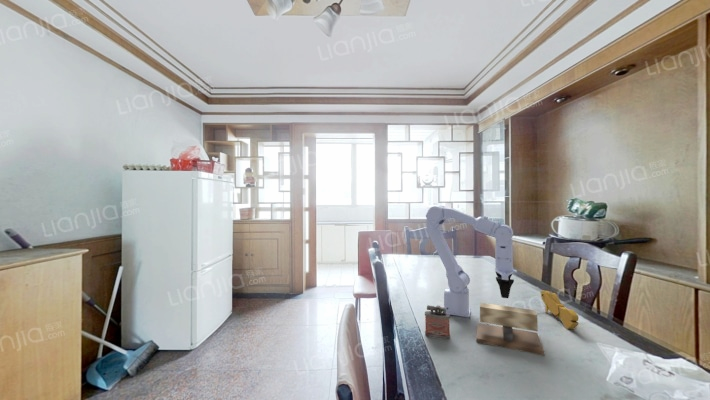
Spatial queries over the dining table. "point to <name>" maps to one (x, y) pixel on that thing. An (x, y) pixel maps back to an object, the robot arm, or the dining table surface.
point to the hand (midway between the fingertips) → (504, 294)
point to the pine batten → (508, 316)
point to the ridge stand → (509, 338)
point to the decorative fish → (559, 310)
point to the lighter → (437, 322)
